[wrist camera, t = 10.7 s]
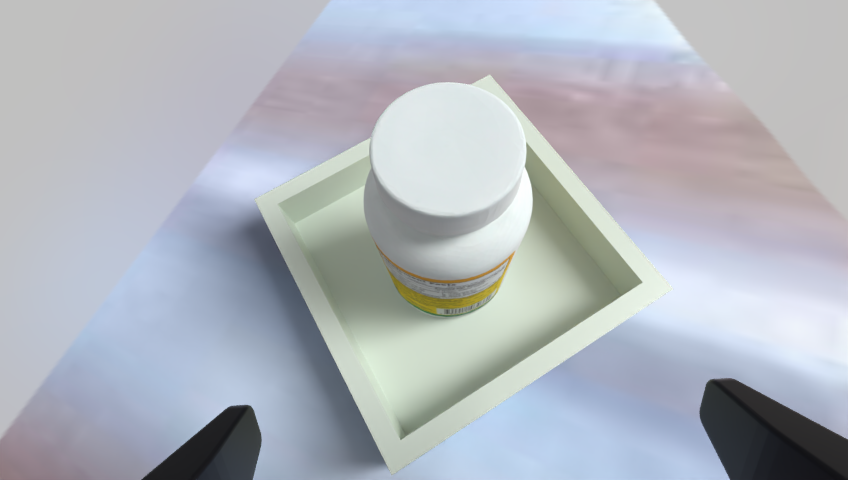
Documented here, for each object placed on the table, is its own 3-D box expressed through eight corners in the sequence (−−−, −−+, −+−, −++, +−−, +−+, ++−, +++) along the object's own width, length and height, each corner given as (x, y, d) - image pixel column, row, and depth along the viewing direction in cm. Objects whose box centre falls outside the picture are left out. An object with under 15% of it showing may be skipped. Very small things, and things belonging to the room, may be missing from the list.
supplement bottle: (470, 343, 18) (490, 289, 9) (367, 282, 19) (297, 182, 10) (525, 241, 20) (590, 109, 11) (427, 191, 21) (411, 34, 12)
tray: (640, 305, 19) (673, 288, 16) (401, 462, 17) (391, 475, 14) (484, 113, 23) (489, 74, 20) (279, 225, 21) (254, 199, 19)
